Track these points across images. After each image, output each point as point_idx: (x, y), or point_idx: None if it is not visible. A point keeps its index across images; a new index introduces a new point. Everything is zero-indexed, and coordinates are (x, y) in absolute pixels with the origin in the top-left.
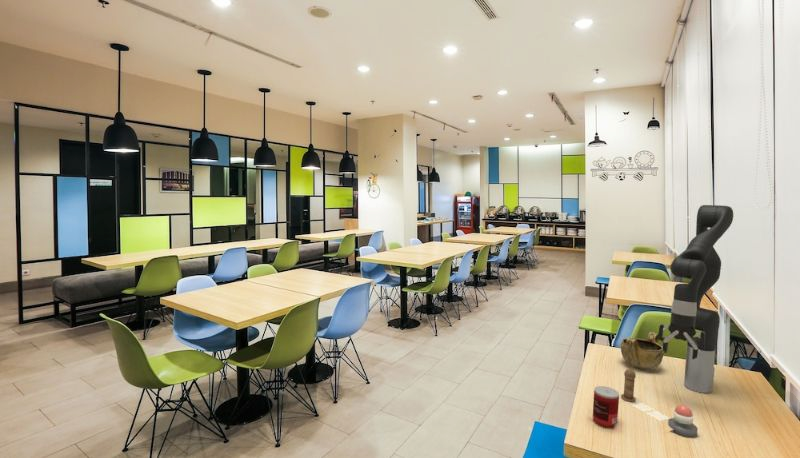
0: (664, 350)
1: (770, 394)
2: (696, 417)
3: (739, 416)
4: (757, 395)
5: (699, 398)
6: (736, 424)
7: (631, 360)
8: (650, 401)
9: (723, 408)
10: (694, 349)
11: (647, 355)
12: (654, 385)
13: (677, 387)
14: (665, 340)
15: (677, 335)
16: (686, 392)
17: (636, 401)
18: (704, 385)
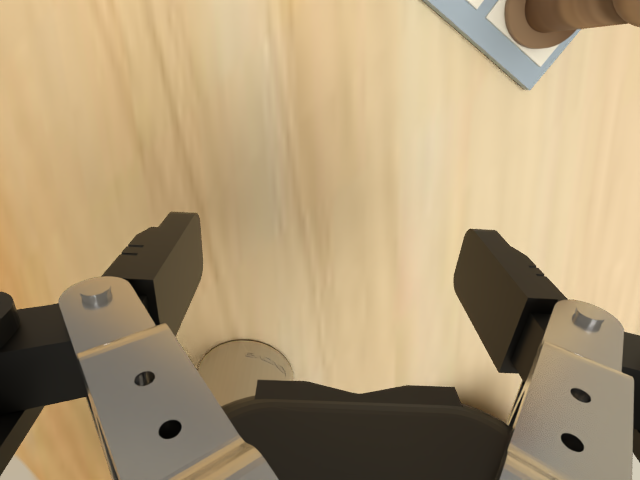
0: (503, 240)
1: (33, 467)
2: (222, 52)
3: (74, 203)
4: (63, 436)
5: (230, 283)
6: (66, 101)
7: None
8: (423, 100)
9: None
10: (134, 287)
11: None
12: (401, 299)
13: (314, 336)
14: (592, 327)
15: (453, 472)
16: (280, 310)
17: (501, 6)
18: (213, 367)
